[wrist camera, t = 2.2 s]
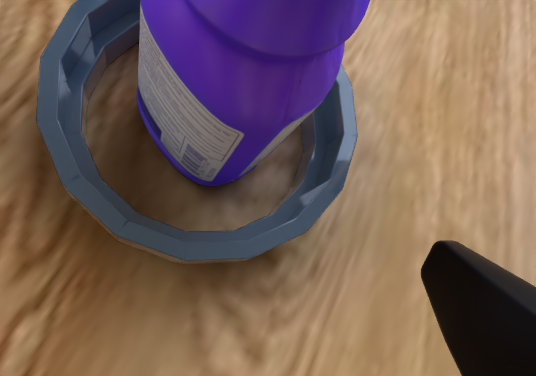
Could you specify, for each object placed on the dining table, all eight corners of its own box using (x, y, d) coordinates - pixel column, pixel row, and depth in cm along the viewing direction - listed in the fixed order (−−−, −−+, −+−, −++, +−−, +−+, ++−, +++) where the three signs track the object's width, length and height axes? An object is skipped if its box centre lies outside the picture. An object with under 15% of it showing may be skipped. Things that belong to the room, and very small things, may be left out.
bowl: (369, 137, 26) (406, 113, 23) (206, 327, 21) (221, 334, 18) (197, -34, 26) (207, -86, 22) (-17, 118, 20) (-48, 81, 17)
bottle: (280, 156, 24) (566, -116, 8) (198, 213, 22) (365, -3, 6) (204, 53, 25) (340, -415, 8) (116, 99, 22) (68, -405, 6)
